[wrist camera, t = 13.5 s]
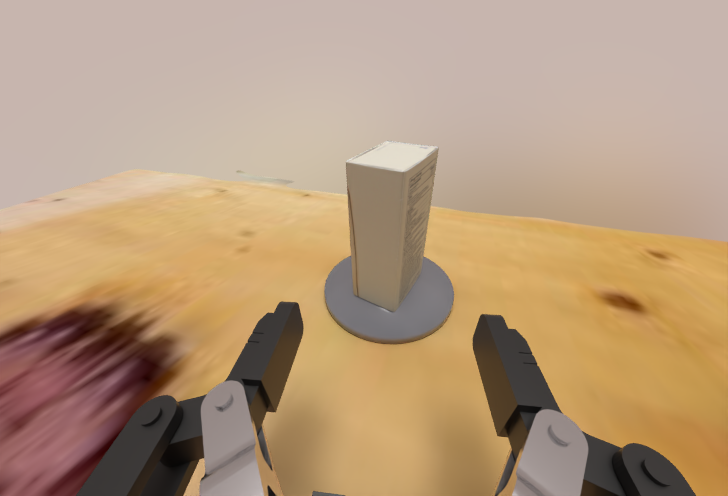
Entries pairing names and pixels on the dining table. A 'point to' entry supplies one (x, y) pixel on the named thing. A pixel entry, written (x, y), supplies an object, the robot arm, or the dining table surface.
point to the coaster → (377, 324)
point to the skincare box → (389, 219)
